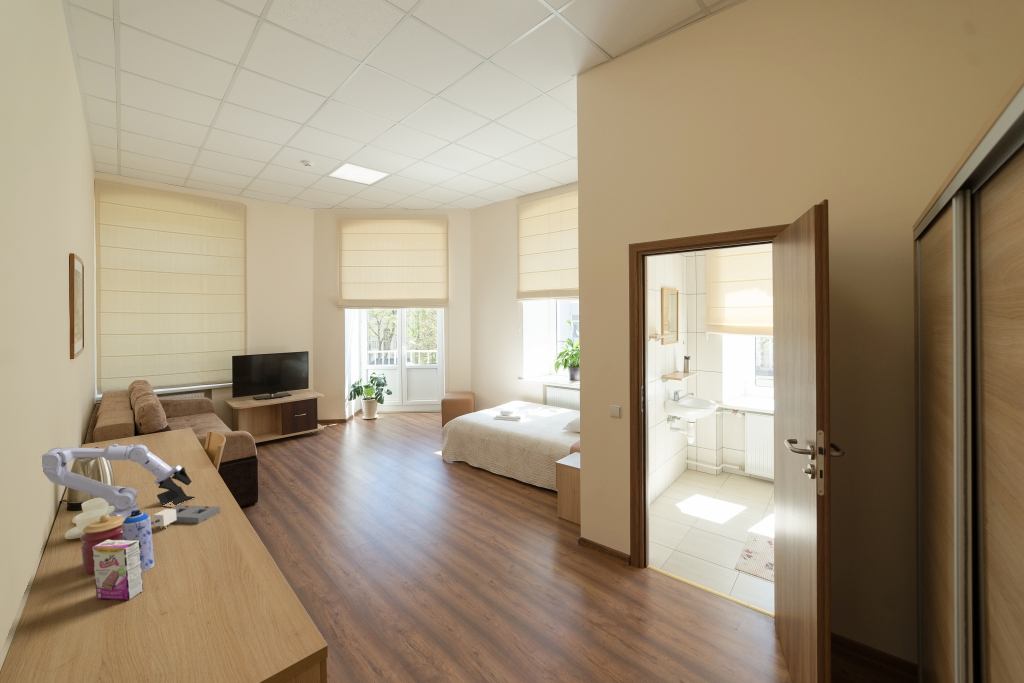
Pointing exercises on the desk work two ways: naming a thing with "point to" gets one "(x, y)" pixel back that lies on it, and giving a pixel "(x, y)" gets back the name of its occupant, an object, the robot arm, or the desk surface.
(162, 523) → the plug
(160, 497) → the black angular piece
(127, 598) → the candy bar box
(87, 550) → the canister
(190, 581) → the desk surface
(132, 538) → the aerosol can
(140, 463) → the robot arm
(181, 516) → the socket
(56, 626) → the desk surface
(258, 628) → the desk surface
